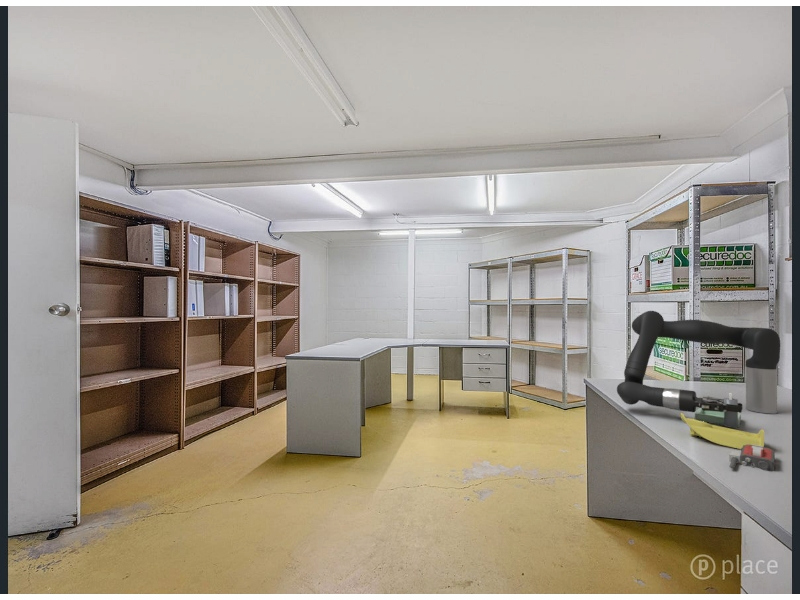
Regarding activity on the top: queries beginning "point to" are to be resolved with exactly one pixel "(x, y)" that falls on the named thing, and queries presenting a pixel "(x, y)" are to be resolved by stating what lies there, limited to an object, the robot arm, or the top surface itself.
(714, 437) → the plastic component
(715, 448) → the top surface
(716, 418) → the tray
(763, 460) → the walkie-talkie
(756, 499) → the top surface
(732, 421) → the grey bottle white cap
